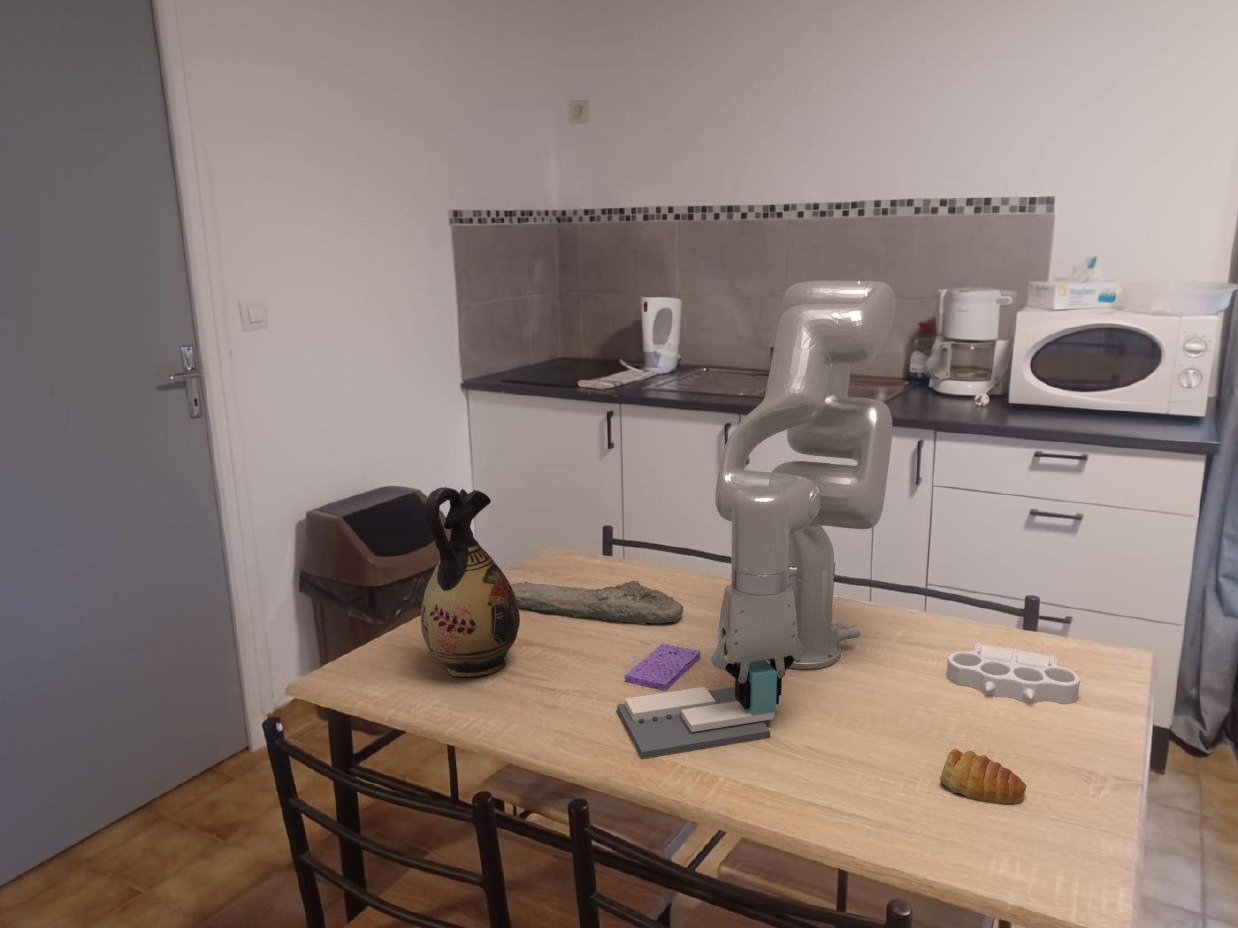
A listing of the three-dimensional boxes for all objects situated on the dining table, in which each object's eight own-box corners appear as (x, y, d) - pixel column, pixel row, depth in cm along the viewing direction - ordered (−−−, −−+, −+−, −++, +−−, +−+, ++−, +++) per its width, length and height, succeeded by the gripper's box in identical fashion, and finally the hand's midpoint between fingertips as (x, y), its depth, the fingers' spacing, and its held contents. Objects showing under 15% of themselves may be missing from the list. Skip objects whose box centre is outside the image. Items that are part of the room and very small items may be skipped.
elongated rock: (516, 597, 181) (492, 619, 172) (512, 571, 179) (489, 593, 170) (690, 607, 169) (675, 632, 160) (688, 580, 167) (672, 604, 158)
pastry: (1029, 787, 114) (1032, 759, 113) (1017, 816, 109) (1020, 787, 108) (951, 764, 119) (952, 738, 118) (935, 791, 114) (937, 763, 113)
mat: (734, 692, 138) (735, 686, 138) (770, 737, 126) (770, 730, 126) (617, 710, 134) (617, 704, 134) (642, 758, 122) (641, 751, 122)
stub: (763, 703, 132) (764, 658, 131) (776, 718, 128) (776, 671, 127) (681, 716, 130) (680, 669, 128) (691, 732, 125) (691, 684, 124)
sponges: (700, 661, 150) (700, 650, 149) (665, 694, 139) (664, 683, 139) (662, 652, 153) (662, 641, 153) (624, 684, 143) (623, 673, 142)
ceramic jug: (470, 636, 160) (459, 467, 152) (541, 657, 151) (532, 479, 144) (396, 676, 146) (379, 492, 139) (468, 701, 138) (455, 507, 130)
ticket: (704, 694, 136) (704, 686, 136) (717, 711, 131) (717, 703, 131) (625, 706, 133) (625, 698, 133) (635, 724, 128) (635, 716, 128)
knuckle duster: (1078, 673, 142) (1077, 718, 130) (954, 653, 150) (941, 693, 137) (1080, 653, 142) (1079, 696, 129) (955, 633, 149) (942, 672, 137)
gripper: (804, 562, 131) (801, 682, 135) (691, 575, 127) (692, 698, 131) (829, 581, 123) (825, 706, 128) (710, 595, 120) (710, 724, 124)
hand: (758, 701), depth 130 cm, fingers closed on stub, 3 cm apart
